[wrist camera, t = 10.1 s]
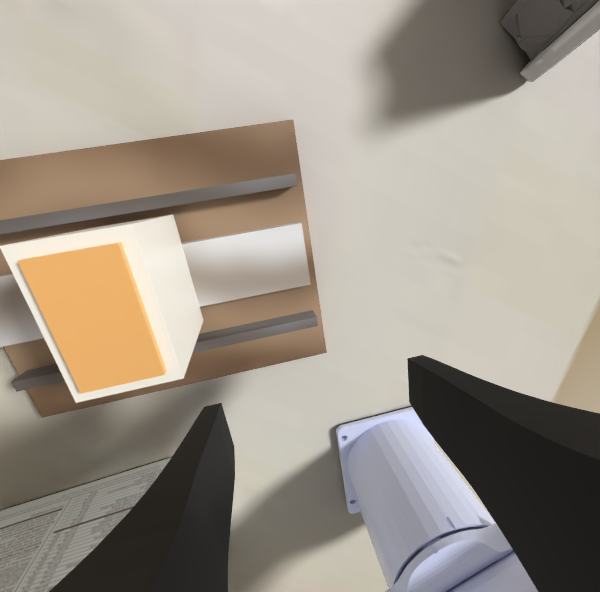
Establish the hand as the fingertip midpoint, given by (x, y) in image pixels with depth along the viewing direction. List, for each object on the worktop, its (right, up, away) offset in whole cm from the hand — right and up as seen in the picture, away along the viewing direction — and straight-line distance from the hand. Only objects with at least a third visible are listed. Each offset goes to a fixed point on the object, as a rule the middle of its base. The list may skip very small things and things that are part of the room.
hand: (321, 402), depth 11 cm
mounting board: (-9, +5, +7) cm, 12 cm away
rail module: (-9, +5, +5) cm, 11 cm away
